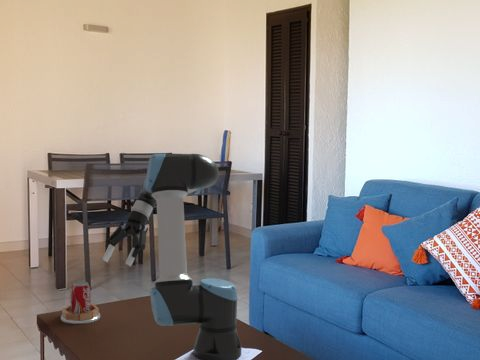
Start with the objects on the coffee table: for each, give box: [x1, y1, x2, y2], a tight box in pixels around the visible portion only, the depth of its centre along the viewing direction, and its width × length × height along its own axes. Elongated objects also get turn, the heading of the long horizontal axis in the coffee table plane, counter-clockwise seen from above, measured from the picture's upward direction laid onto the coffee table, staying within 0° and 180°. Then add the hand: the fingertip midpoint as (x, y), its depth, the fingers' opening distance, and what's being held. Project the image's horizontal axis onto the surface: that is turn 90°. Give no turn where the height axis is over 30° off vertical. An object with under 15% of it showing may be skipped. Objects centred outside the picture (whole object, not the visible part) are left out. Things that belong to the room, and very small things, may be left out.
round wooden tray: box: [60, 303, 101, 325], centre depth 221 cm, size 14×14×4 cm
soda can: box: [70, 280, 91, 313], centre depth 220 cm, size 7×7×12 cm
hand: (116, 262), depth 228 cm, fingers open, 13 cm apart
